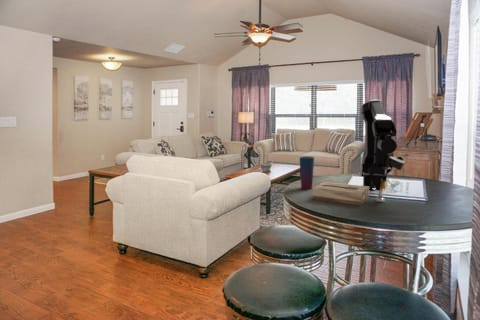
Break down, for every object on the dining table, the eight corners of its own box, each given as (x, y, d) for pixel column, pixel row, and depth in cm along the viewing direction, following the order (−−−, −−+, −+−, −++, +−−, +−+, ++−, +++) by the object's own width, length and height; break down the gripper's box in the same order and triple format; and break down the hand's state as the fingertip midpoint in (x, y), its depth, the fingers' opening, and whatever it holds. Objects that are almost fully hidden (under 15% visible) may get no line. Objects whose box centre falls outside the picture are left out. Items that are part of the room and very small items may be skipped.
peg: (376, 199, 151) (376, 179, 149) (386, 200, 148) (387, 180, 147) (373, 201, 147) (374, 181, 146) (384, 202, 145) (385, 182, 144)
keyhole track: (323, 192, 163) (323, 181, 163) (369, 198, 153) (369, 186, 152) (312, 199, 153) (312, 187, 152) (361, 205, 142) (361, 193, 141)
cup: (313, 190, 168) (314, 158, 166) (299, 189, 170) (299, 158, 168) (313, 187, 175) (314, 156, 173) (299, 186, 176) (299, 156, 174)
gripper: (399, 154, 133) (397, 195, 135) (407, 148, 148) (405, 185, 150) (368, 152, 139) (367, 192, 141) (379, 147, 154) (377, 183, 156)
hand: (380, 188), depth 147 cm, fingers open, 9 cm apart
